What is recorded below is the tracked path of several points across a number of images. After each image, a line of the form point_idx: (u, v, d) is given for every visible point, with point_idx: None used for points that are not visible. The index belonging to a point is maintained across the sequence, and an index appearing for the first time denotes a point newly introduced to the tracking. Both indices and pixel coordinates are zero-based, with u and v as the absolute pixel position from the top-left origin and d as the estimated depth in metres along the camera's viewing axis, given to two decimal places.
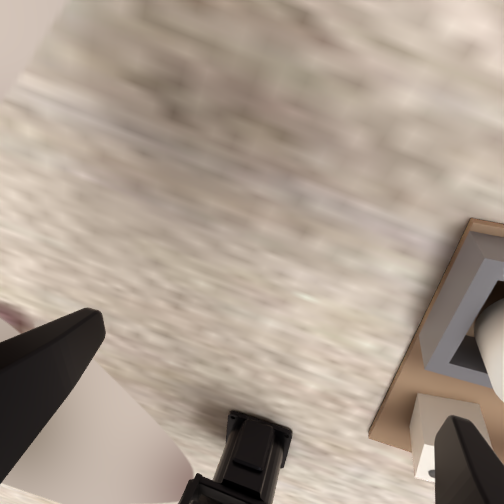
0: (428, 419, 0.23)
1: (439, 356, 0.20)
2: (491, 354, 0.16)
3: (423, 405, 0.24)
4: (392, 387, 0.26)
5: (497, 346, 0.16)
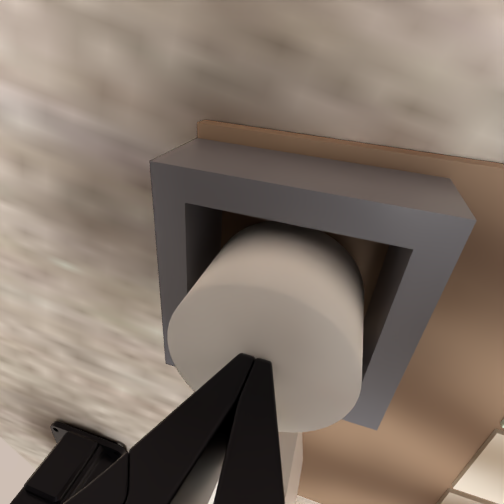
0: None
1: None
2: None
3: None
4: None
5: None
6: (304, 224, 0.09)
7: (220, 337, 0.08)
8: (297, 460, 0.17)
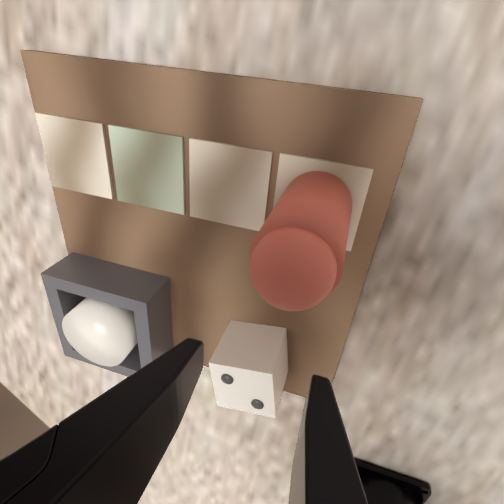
0: None
1: None
2: None
3: None
4: None
5: None
6: (63, 317, 0.25)
7: (87, 347, 0.24)
8: (246, 337, 0.22)
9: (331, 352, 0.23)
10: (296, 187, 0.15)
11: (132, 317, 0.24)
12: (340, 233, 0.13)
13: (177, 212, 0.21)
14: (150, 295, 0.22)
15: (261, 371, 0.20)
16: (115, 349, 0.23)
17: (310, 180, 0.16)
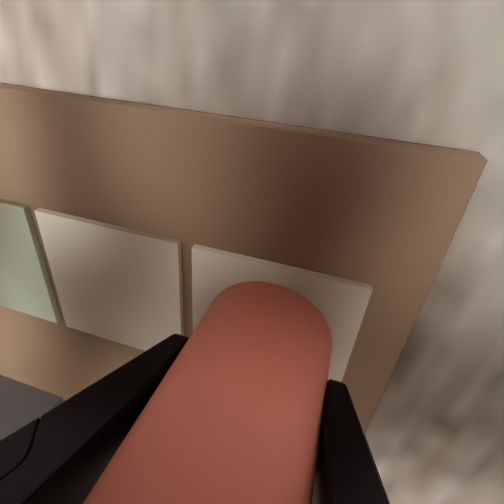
0: None
1: None
2: None
3: None
4: None
5: None
6: None
7: None
8: None
9: None
10: (208, 340, 0.07)
11: None
12: None
13: (47, 318, 0.13)
14: None
15: None
16: None
17: (242, 318, 0.08)
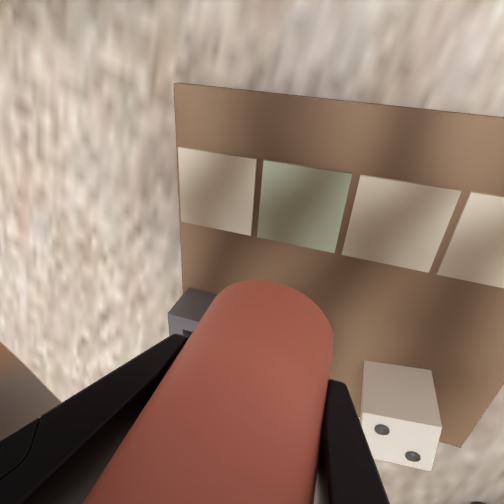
0: None
1: None
2: None
3: None
4: None
5: None
6: None
7: None
8: (391, 381, 0.21)
9: (481, 396, 0.21)
10: (209, 339, 0.07)
11: None
12: None
13: (326, 250, 0.19)
14: None
15: (428, 423, 0.18)
16: None
17: (243, 317, 0.07)
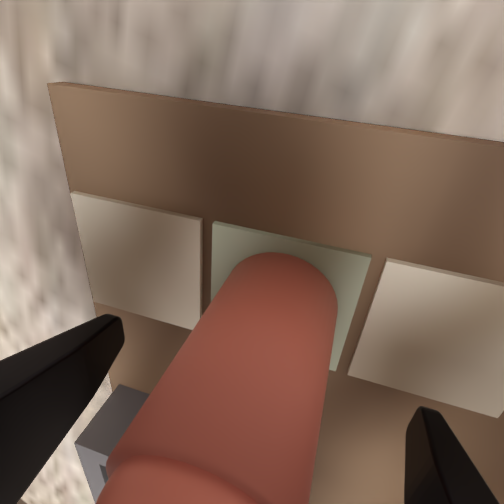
0: None
1: None
2: None
3: None
4: None
5: None
6: None
7: None
8: None
9: None
10: (231, 297, 0.08)
11: None
12: (299, 448, 0.06)
13: None
14: None
15: None
16: None
17: (260, 280, 0.09)
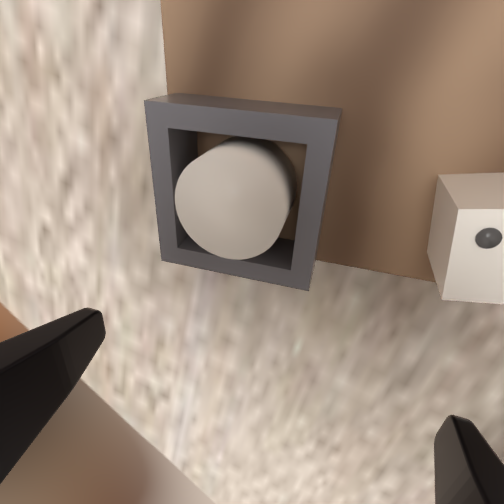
0: (435, 265, 0.15)
1: (283, 279, 0.17)
2: None
3: (430, 257, 0.16)
4: (423, 278, 0.18)
5: None
6: (170, 186, 0.16)
7: (213, 228, 0.15)
8: (489, 183, 0.14)
9: None
10: None
11: (285, 174, 0.15)
12: None
13: None
14: (334, 116, 0.13)
15: None
16: (265, 222, 0.15)
17: None
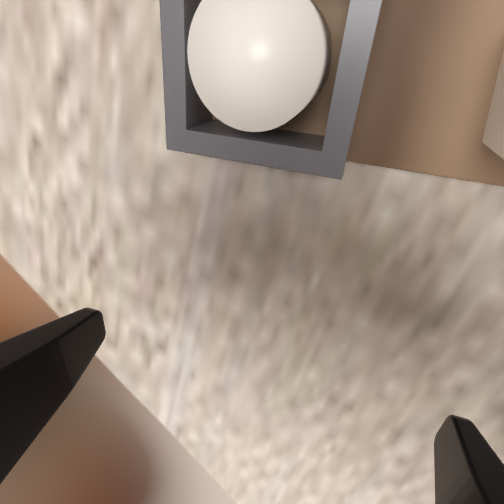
0: (500, 140, 0.13)
1: (311, 165, 0.14)
2: None
3: (490, 140, 0.14)
4: (473, 180, 0.15)
5: None
6: (182, 40, 0.13)
7: (232, 87, 0.13)
8: None
9: None
10: None
11: (322, 22, 0.12)
12: None
13: None
14: None
15: None
16: (297, 72, 0.12)
17: None
